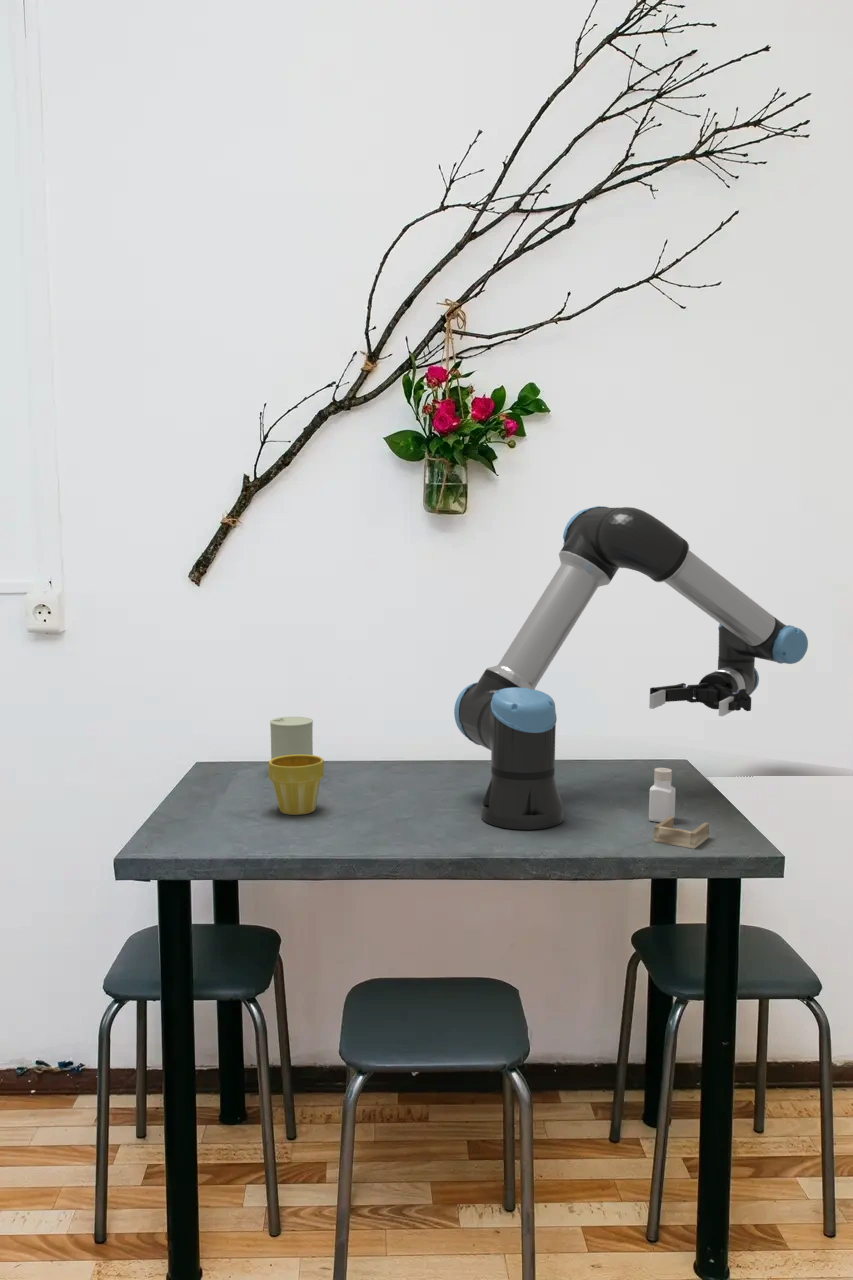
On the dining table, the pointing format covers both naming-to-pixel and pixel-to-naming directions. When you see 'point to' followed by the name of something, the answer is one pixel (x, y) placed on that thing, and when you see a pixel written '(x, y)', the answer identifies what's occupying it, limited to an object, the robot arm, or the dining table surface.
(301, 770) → the plant pot
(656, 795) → the pepper shaker
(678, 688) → the robot arm
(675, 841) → the tray
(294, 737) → the can
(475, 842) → the dining table surface
